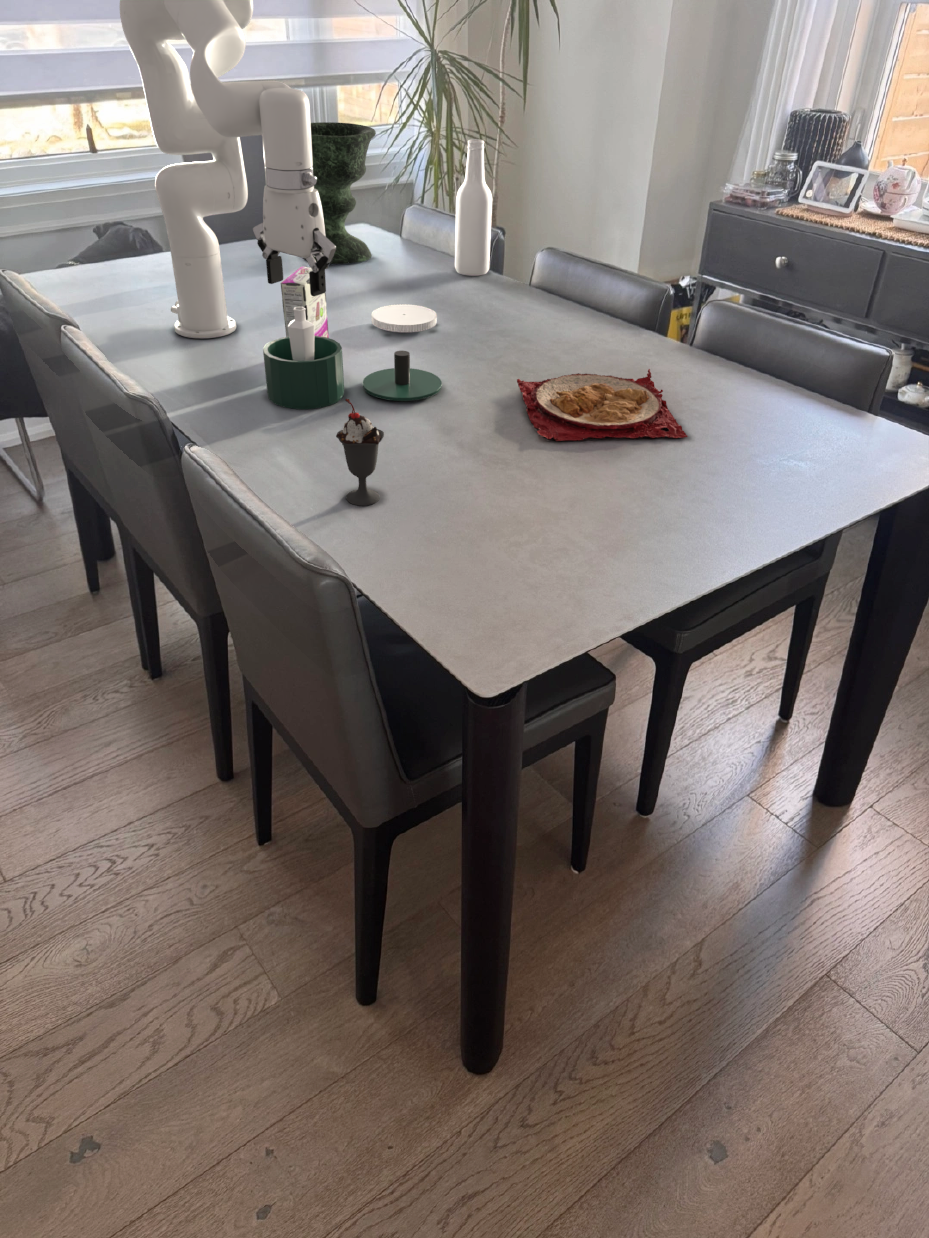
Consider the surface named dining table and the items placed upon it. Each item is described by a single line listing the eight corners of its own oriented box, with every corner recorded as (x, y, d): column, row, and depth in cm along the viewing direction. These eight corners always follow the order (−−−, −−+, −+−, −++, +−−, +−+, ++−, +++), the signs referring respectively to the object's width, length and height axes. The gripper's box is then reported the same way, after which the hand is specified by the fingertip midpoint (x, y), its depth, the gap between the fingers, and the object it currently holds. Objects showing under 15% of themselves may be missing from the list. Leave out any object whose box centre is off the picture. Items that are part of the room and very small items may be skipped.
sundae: (340, 487, 138) (335, 392, 129) (385, 487, 138) (382, 392, 129) (339, 509, 132) (333, 411, 124) (385, 508, 133) (383, 411, 124)
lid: (349, 396, 166) (347, 360, 162) (381, 369, 177) (381, 335, 173) (424, 409, 162) (424, 372, 158) (452, 380, 173) (453, 346, 169)
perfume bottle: (323, 389, 167) (317, 306, 158) (312, 398, 164) (306, 313, 155) (300, 385, 168) (293, 303, 159) (289, 394, 165) (281, 310, 156)
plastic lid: (398, 341, 190) (398, 329, 188) (358, 323, 198) (358, 312, 197) (449, 328, 198) (450, 316, 196) (409, 312, 206) (409, 300, 204)
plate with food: (515, 388, 172) (516, 371, 170) (649, 383, 174) (651, 365, 172) (538, 445, 153) (540, 426, 151) (687, 438, 155) (691, 419, 153)
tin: (254, 402, 163) (248, 355, 158) (290, 375, 173) (286, 331, 168) (323, 414, 159) (320, 366, 154) (356, 386, 170) (354, 341, 165)
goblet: (342, 273, 229) (335, 139, 212) (274, 257, 239) (263, 128, 221) (394, 255, 244) (392, 128, 227) (329, 241, 254) (322, 119, 236)
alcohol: (457, 265, 238) (460, 136, 220) (491, 268, 237) (496, 138, 219) (452, 275, 231) (454, 142, 213) (486, 277, 230) (492, 144, 212)
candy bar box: (306, 349, 185) (300, 265, 175) (330, 352, 184) (325, 267, 174) (287, 369, 176) (279, 281, 166) (311, 372, 175) (305, 284, 165)
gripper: (346, 184, 144) (350, 294, 154) (266, 166, 151) (275, 273, 162) (314, 191, 139) (320, 305, 149) (233, 173, 146) (244, 282, 157)
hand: (296, 288), depth 156 cm, fingers open, 9 cm apart
